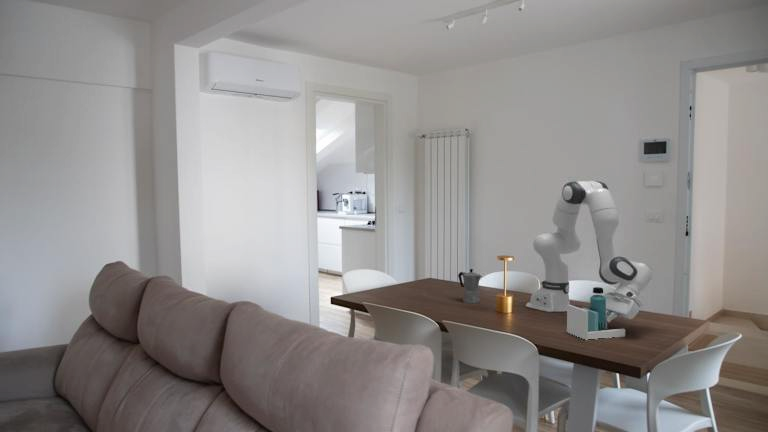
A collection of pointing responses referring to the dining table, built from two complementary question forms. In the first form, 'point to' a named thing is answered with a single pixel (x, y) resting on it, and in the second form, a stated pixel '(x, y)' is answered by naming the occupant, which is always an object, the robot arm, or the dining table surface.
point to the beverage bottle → (599, 307)
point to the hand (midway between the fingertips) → (605, 320)
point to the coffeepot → (470, 286)
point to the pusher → (592, 320)
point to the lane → (586, 325)
